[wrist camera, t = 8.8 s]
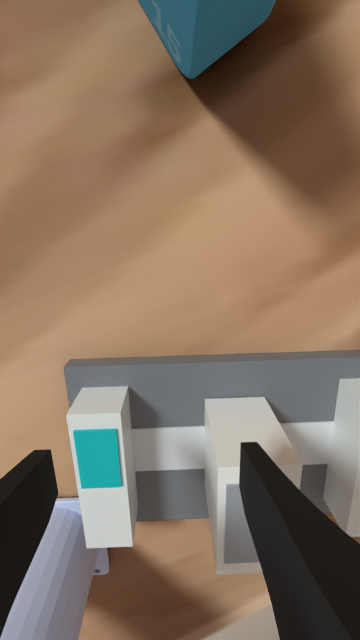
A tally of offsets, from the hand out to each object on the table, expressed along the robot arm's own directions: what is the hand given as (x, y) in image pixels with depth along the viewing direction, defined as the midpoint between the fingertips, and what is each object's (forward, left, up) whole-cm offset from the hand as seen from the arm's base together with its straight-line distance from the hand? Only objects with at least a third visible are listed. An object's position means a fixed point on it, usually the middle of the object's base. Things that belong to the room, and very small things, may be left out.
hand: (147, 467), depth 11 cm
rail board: (+5, -6, -9) cm, 12 cm away
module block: (+5, -6, -8) cm, 11 cm away
